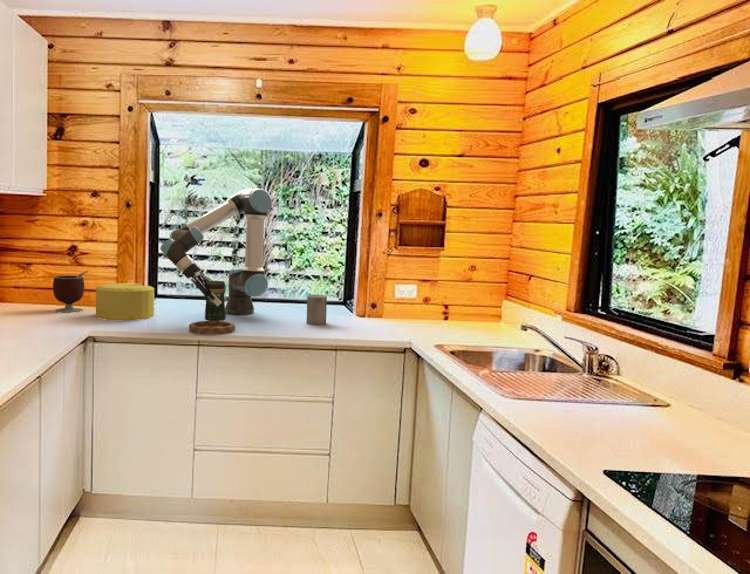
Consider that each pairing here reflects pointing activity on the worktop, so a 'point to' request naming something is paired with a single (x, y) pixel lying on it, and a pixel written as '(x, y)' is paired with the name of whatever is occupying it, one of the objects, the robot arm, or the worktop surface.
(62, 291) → the mate gourd
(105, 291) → the cheese
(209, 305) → the coffee jar
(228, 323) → the tray
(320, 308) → the pillar candle
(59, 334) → the worktop surface
